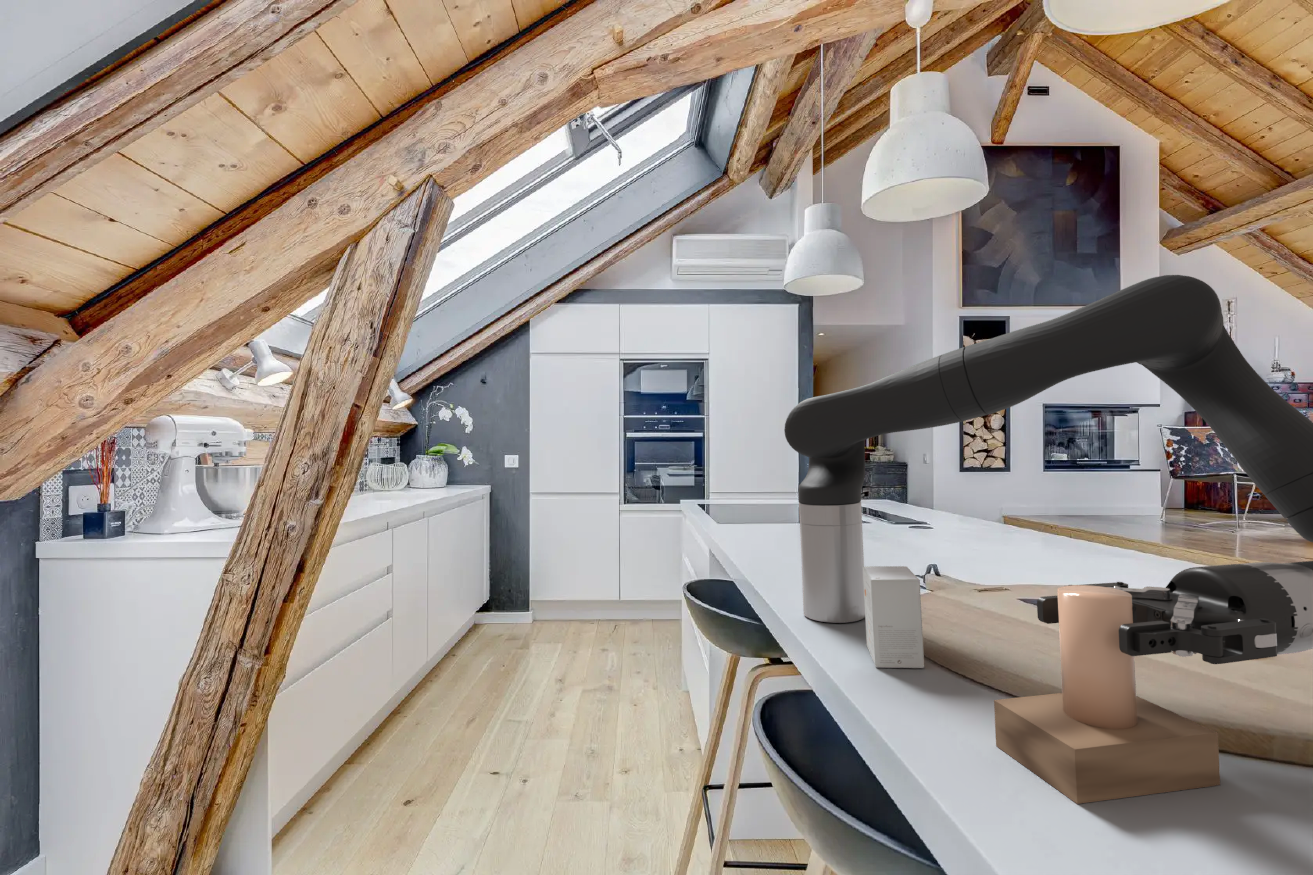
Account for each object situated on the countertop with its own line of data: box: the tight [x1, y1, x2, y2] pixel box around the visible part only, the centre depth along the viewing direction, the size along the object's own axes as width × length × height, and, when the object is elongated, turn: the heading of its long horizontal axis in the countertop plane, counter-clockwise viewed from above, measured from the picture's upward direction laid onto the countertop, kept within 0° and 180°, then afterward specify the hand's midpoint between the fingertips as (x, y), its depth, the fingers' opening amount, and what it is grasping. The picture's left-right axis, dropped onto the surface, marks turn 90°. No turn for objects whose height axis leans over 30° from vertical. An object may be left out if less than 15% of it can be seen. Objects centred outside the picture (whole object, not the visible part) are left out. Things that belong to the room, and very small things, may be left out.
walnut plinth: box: [993, 692, 1221, 805], centre depth 52 cm, size 9×12×4 cm
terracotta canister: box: [1057, 584, 1138, 729], centre depth 52 cm, size 5×5×10 cm
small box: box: [863, 565, 925, 669], centre depth 78 cm, size 8×6×10 cm
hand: (1078, 624), depth 52 cm, fingers open, 8 cm apart
